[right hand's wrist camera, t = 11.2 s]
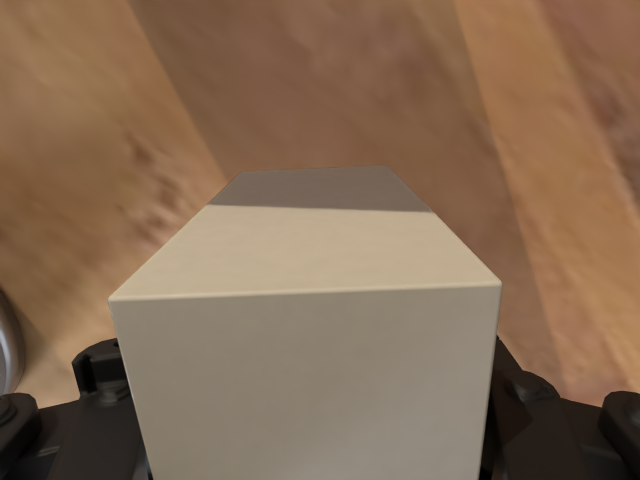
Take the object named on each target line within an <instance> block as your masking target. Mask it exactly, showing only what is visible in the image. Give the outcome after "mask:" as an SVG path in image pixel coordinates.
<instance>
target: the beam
mask: <svg viewBox="0 0 640 480" xmlns="http://www.w3.org/2000/svg"><path fill="white" fill-rule="evenodd" d="M502 287H503V284H502V282H501V280H500V279H499V278H498V277H497V276H496V275H495V274H494V273H493V272H492V271H491V270H490V269H489V268H488V267H487V266H486V265H485V264H484V263H483V262H482V261H481V260H480V259H479V258H478V257H477V256H476V255H475V254H474V253H473V252H472V251H471V250H470V249H469V248H468V247H467V246H466V245H465V244H464V243H463V242H462V241H461V240H460V239H459V238H458V237H457V236H456V235H455V233H454V232H453V231H452V230H451V229H450V228H449V227H448V226H447V225H446V224H445V223H444V222H443V221H442V220H441V219H440V218H439V217H438V216H437V215H436V214H435V213H434V212H433V211H432V210H431V209H430V208H429V207H428V206H427V205H426V204H425V203H424V202H423V201H422V200H421V199H420V198H419V197H418V196H417V195H416V194H415V193H414V192H413V191H412V190H411V189H410V188H409V187H408V185H407V184H406V183H405V182H404V181H403V180H402V179H401V178H400V177H399V176H398V175H397V174H396V173H395V172H394V171H393V170H392V169H391V168H390V167H389V166H388V165H377V166H355V167H333V168H311V169H288V170H266V171H244V172H240V173H239V174H238V175H237V176H236V177H235V178H234V179H233V180H232V181H231V182H230V183H229V184H228V185H227V186H226V187H225V188H224V189H223V190H221V191H220V192H219V193H218V194H217V195H216V196H215V197H214V198H213V199H212V200H211V201H210V202H209V203H208V204H207V205H206V206H205V207H204V208H202V209H201V210H200V211H199V212H198V213H197V214H196V215H195V216H194V217H193V218H192V219H191V220H190V221H189V222H188V223H187V224H186V225H185V226H183V227H182V228H181V229H180V230H179V231H178V232H177V233H176V234H175V235H174V236H173V237H172V238H171V239H170V240H169V241H168V242H167V243H166V244H165V245H163V246H162V247H161V248H160V249H159V250H158V251H157V252H156V253H155V254H154V255H153V256H152V257H151V258H150V259H149V260H148V261H147V262H146V263H144V264H143V265H142V266H141V267H140V268H139V269H138V270H137V271H136V272H135V273H134V274H133V275H132V276H131V277H130V278H129V279H128V280H127V281H125V282H124V283H123V284H122V285H121V286H120V287H119V288H118V289H117V290H116V291H115V292H114V293H113V294H112V295H111V296H110V297H109V298H108V304H109V308H110V312H111V316H112V320H113V324H114V328H115V332H116V336H117V340H118V343H119V347H120V351H121V355H122V359H123V363H124V367H125V371H126V375H127V379H128V382H129V386H130V390H131V394H132V398H133V402H134V406H135V410H136V414H137V418H138V422H139V425H140V429H141V433H142V437H143V441H144V445H145V449H146V453H147V457H148V461H149V464H150V468H151V472H152V476H153V480H479V473H480V465H481V457H482V449H483V441H484V433H485V425H486V417H487V409H488V400H489V392H490V384H491V376H492V368H493V360H494V352H495V344H496V336H497V328H498V320H499V312H500V303H501V295H502Z"/></svg>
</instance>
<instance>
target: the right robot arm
mask: <svg viewBox="0 0 640 480" xmlns="http://www.w3.org/2000/svg"><path fill="white" fill-rule="evenodd" d="M24 361H25V351H24V342H23V337H22V333H21V330H20V327H19V324H18V322H17V320H16V317H15V315H14V313H13V311H12V309H11V308H10V306H9V304H8V303H7V301H6V300H5V298H4V296H3V295H2V294H1V292H0V480H153V476H152V472H151V468H150V464H149V461H148V457H147V453H146V449H145V445H144V441H143V437H142V433H141V429H140V425H139V422H138V418H137V414H136V410H135V406H134V402H133V398H132V394H131V390H130V386H129V382H128V379H127V375H126V371H125V367H124V363H123V359H122V355H121V351H120V347H119V343H118V340H117V338H114V339H110V340H105V341H101V342H99V343H97V344H94V345H92V346H90V347H88V348H86V349H85V350H84V351H82V352H81V353H79V354H78V355H77V356H76V357H75V359H74V360H73V361H72V362H71V363H72V366H73V370H74V374H75V377H76V381H77V385H78V388H79V392H80V398H79V400H76V401H72V402H69V403H64V404H60V405H55V406H51V407H46V408H42V409H38V406H37V403H36V400H35V399H34V398H33V397H32V396H31V395H30V394H25V393H13V392H14V391H15V389H16V388H17V386H18V384H19V382H20V379H21V376H22V373H23V369H24ZM479 480H640V394H639V393H635V392H627V391H617V392H611V393H610V394H608V395H607V396H606V397H605V399H604V402H603V405H602V408H601V407H597V406H592V405H588V404H583V403H579V402H574V401H570V400H567V399H563V398H560V395H559V394H558V392H557V391H556V389H555V388H554V387H553V386H552V385H551V384H550V383H548V382H547V381H546V380H545V379H543V378H541V377H539V376H537V375H535V374H533V373H531V372H527V371H523V370H522V369H521V367H520V366H519V365H518V363H517V362H516V360H515V359H514V358H513V356H512V355H511V353H510V352H509V351H508V349H507V348H506V347H505V345H504V344H503V342H502V341H501V340H499V337H498V335H497V336H496V344H495V352H494V360H493V368H492V376H491V384H490V392H489V400H488V409H487V417H486V425H485V433H484V441H483V449H482V457H481V465H480V473H479Z"/></svg>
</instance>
